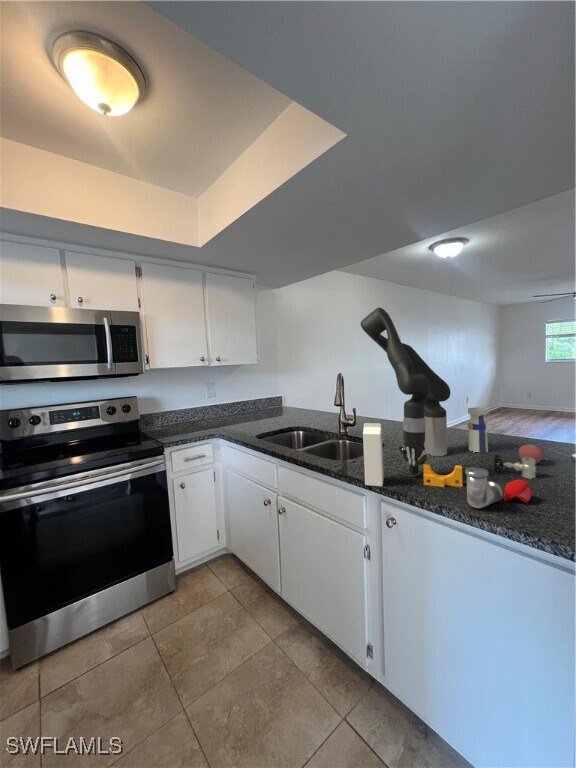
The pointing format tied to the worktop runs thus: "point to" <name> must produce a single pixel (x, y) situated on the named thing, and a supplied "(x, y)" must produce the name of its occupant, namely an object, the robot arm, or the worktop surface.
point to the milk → (373, 454)
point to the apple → (531, 452)
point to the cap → (518, 490)
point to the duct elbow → (481, 488)
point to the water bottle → (477, 429)
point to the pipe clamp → (442, 477)
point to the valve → (518, 466)
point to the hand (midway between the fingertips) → (414, 474)
